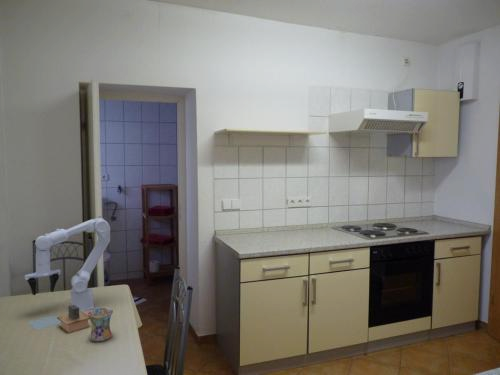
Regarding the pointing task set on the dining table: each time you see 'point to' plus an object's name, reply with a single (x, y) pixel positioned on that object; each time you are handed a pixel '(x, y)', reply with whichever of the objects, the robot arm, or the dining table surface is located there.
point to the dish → (75, 326)
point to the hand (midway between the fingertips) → (43, 292)
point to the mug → (100, 324)
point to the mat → (44, 322)
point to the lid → (73, 316)
